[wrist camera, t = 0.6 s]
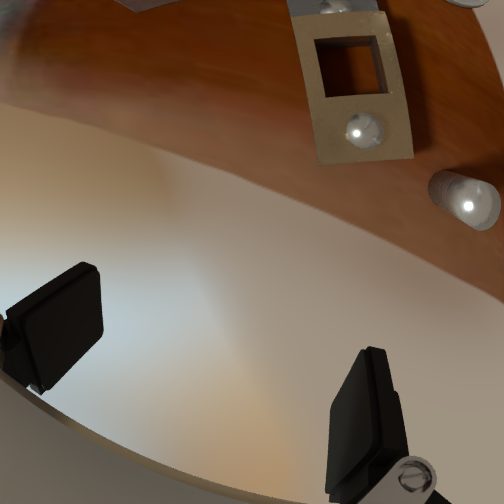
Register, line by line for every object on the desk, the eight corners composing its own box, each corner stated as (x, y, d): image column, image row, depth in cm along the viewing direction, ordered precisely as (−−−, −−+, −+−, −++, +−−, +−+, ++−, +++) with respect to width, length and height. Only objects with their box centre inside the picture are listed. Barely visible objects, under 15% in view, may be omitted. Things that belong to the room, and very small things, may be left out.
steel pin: (458, 169, 30) (500, 181, 20) (459, 205, 31) (499, 228, 22) (427, 170, 31) (463, 182, 21) (428, 207, 32) (463, 232, 23)
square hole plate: (287, 4, 27) (282, -14, 22) (370, -2, 24) (376, -20, 20) (318, 163, 33) (318, 166, 29) (403, 156, 31) (417, 158, 26)
